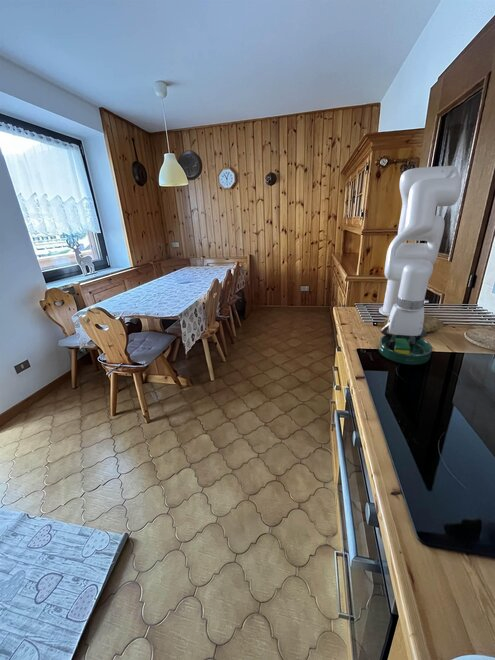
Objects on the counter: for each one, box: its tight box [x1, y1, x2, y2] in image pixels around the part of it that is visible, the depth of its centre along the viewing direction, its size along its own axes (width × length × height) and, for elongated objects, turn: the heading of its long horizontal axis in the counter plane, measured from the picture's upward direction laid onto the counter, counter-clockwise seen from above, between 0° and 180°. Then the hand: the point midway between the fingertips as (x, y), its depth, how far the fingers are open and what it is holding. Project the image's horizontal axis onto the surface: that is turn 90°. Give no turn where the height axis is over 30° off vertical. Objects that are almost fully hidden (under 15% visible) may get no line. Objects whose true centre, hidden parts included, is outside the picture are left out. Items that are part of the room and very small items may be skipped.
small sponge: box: [394, 338, 410, 355], centre depth 100 cm, size 7×4×4 cm, turn 164°
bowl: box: [377, 334, 433, 366], centre depth 99 cm, size 16×16×4 cm
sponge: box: [383, 314, 445, 333], centre depth 114 cm, size 13×8×20 cm
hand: (399, 350), depth 100 cm, fingers closed on small sponge, 4 cm apart
